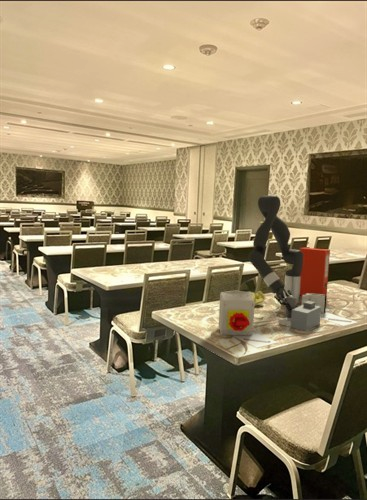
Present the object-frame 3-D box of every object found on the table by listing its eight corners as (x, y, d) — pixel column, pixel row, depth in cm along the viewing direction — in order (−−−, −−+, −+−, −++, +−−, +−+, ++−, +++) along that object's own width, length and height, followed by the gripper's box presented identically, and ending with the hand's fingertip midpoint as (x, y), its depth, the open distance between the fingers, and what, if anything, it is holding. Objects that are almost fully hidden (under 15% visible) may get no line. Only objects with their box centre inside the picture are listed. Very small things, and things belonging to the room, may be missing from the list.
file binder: (301, 293, 253) (304, 247, 249) (326, 297, 242) (329, 249, 238) (296, 295, 247) (299, 248, 243) (321, 299, 236) (325, 250, 232)
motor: (295, 315, 200) (297, 295, 199) (322, 321, 190) (324, 300, 189) (278, 323, 186) (279, 302, 184) (306, 331, 176) (307, 308, 174)
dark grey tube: (287, 314, 191) (288, 293, 190) (297, 316, 188) (298, 295, 186) (282, 316, 187) (284, 295, 186) (292, 318, 184) (293, 297, 182)
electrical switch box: (221, 343, 164) (223, 302, 158) (218, 328, 178) (220, 289, 173) (254, 344, 164) (257, 303, 158) (248, 328, 178) (251, 290, 173)
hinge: (301, 312, 207) (302, 295, 206) (299, 310, 212) (300, 293, 211) (326, 313, 206) (327, 296, 205) (323, 310, 211) (324, 293, 210)
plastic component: (243, 305, 210) (233, 295, 217) (240, 315, 214) (230, 304, 221) (268, 299, 220) (258, 289, 227) (265, 308, 224) (254, 298, 231)
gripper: (272, 280, 185) (292, 308, 178) (285, 276, 195) (305, 303, 189) (262, 288, 189) (282, 316, 183) (275, 284, 200) (295, 310, 193)
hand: (293, 309), depth 186 cm, fingers closed on dark grey tube, 5 cm apart
